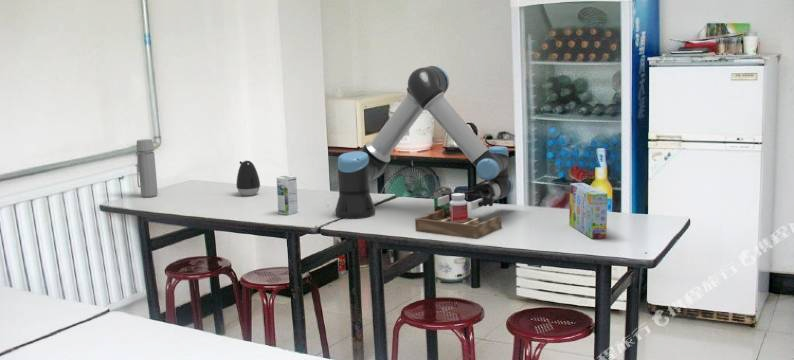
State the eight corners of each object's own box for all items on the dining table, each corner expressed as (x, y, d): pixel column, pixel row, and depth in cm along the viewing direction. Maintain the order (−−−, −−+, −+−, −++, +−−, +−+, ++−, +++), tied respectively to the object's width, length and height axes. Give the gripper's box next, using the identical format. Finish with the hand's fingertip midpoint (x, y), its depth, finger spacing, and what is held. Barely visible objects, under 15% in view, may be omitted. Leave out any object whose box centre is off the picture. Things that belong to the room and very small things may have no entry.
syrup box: (277, 213, 330) (275, 177, 328) (289, 211, 334) (287, 174, 332) (287, 215, 326) (284, 178, 324) (298, 212, 331) (296, 176, 328)
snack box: (608, 238, 275) (608, 193, 273) (591, 239, 275) (591, 194, 272) (583, 224, 296) (583, 181, 293) (568, 225, 295) (568, 182, 292)
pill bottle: (471, 225, 294) (470, 194, 292) (457, 228, 291) (456, 196, 289) (460, 222, 299) (459, 191, 297) (446, 225, 296) (445, 194, 294)
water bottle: (150, 194, 381) (145, 138, 377) (162, 195, 376) (157, 139, 372) (133, 197, 374) (128, 141, 369) (145, 199, 369) (139, 142, 365)
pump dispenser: (252, 191, 378) (249, 157, 375) (265, 194, 370) (263, 160, 368) (232, 195, 371) (229, 161, 368) (245, 198, 363) (242, 163, 361)
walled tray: (441, 220, 309) (441, 209, 308) (501, 227, 295) (501, 215, 294) (415, 230, 295) (415, 218, 294) (476, 238, 281) (476, 226, 280)
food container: (450, 219, 310) (450, 192, 308) (434, 219, 311) (433, 192, 309) (455, 212, 322) (454, 186, 320) (439, 212, 323) (438, 186, 321)
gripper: (516, 206, 302) (487, 218, 285) (456, 200, 316) (425, 211, 299) (516, 185, 301) (486, 196, 284) (456, 180, 315) (424, 190, 298)
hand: (455, 204), depth 291 cm, fingers open, 13 cm apart
